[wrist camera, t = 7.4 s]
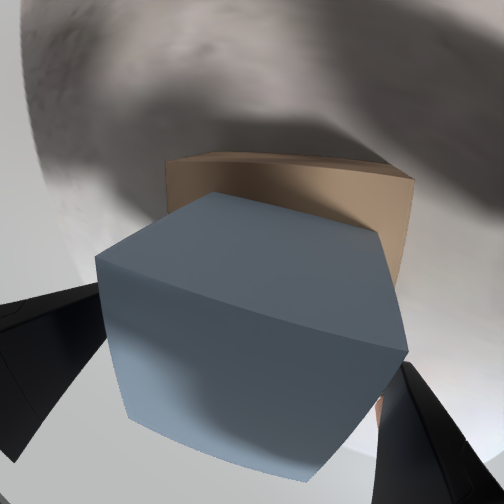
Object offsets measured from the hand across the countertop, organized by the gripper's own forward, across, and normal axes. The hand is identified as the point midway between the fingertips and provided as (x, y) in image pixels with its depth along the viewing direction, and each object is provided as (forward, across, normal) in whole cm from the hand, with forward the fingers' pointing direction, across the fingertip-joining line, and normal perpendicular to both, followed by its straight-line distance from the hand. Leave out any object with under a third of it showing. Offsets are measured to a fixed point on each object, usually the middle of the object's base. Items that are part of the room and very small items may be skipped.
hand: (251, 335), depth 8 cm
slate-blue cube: (+3, 0, 0) cm, 3 cm away
